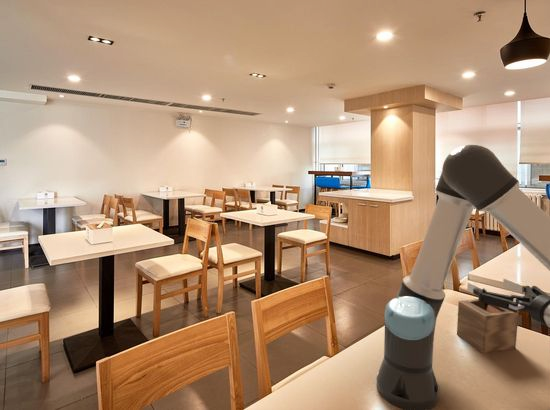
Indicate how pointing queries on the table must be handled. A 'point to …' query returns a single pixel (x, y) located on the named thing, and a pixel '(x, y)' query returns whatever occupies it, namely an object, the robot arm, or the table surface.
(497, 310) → the tall salmon pillar block
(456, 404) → the table surface
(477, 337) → the tip box
